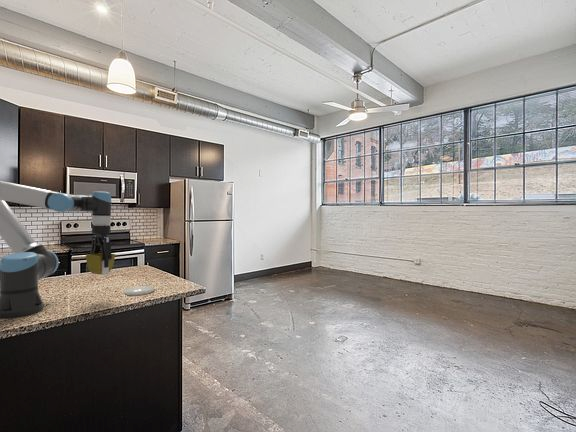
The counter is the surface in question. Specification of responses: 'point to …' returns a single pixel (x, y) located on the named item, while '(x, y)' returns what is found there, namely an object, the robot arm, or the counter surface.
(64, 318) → the counter surface
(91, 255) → the flower pot
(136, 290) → the white flat disc
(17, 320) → the counter surface
